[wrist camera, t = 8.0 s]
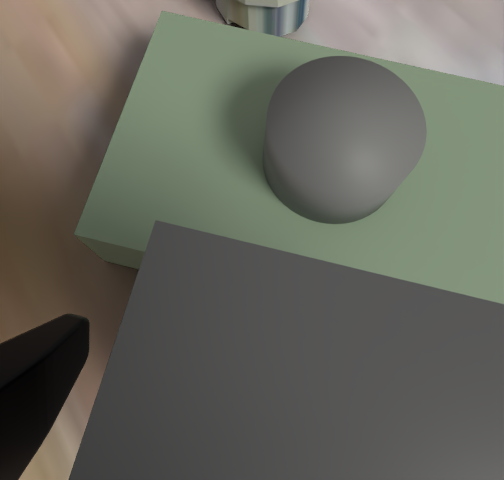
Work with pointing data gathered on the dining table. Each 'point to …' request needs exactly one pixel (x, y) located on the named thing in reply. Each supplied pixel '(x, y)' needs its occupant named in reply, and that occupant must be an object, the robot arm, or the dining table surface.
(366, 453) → the chute block
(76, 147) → the dining table surface
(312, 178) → the green plate with knob
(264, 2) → the white dark-ended cylinder
